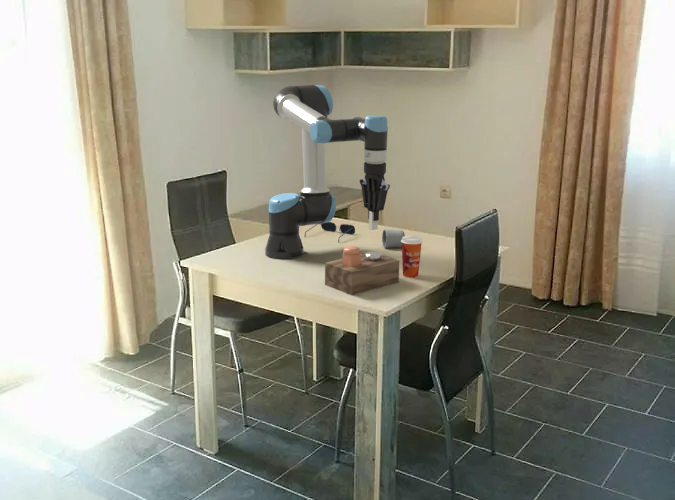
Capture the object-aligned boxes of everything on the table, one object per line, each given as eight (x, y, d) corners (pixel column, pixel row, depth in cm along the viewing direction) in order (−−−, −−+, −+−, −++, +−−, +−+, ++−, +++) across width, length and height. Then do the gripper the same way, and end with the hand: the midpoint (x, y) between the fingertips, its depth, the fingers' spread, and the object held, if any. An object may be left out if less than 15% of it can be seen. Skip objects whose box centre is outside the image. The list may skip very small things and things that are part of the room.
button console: (325, 284, 268) (325, 262, 265) (371, 272, 281) (372, 251, 279) (351, 295, 257) (351, 272, 255) (398, 282, 271) (399, 260, 269)
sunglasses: (355, 235, 333) (355, 225, 331) (339, 248, 322) (338, 237, 320) (321, 230, 342) (321, 220, 340) (304, 242, 330) (303, 231, 328)
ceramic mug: (405, 249, 312) (406, 230, 310) (385, 250, 311) (386, 231, 309) (398, 242, 322) (398, 224, 320) (379, 243, 321) (379, 225, 319)
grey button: (361, 274, 272) (361, 253, 270) (373, 271, 276) (373, 251, 274) (372, 278, 268) (372, 257, 266) (384, 275, 272) (384, 254, 269)
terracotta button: (340, 269, 265) (340, 248, 263) (352, 266, 268) (352, 245, 266) (350, 273, 261) (351, 251, 259) (363, 270, 264) (363, 248, 262)
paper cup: (406, 279, 274) (407, 241, 270) (396, 273, 281) (397, 236, 277) (425, 277, 277) (426, 239, 273) (415, 271, 284) (416, 234, 280)
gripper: (354, 160, 263) (352, 226, 270) (380, 165, 254) (378, 234, 261) (370, 157, 268) (368, 223, 275) (396, 163, 258) (394, 231, 265)
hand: (373, 229), depth 268 cm, fingers closed
